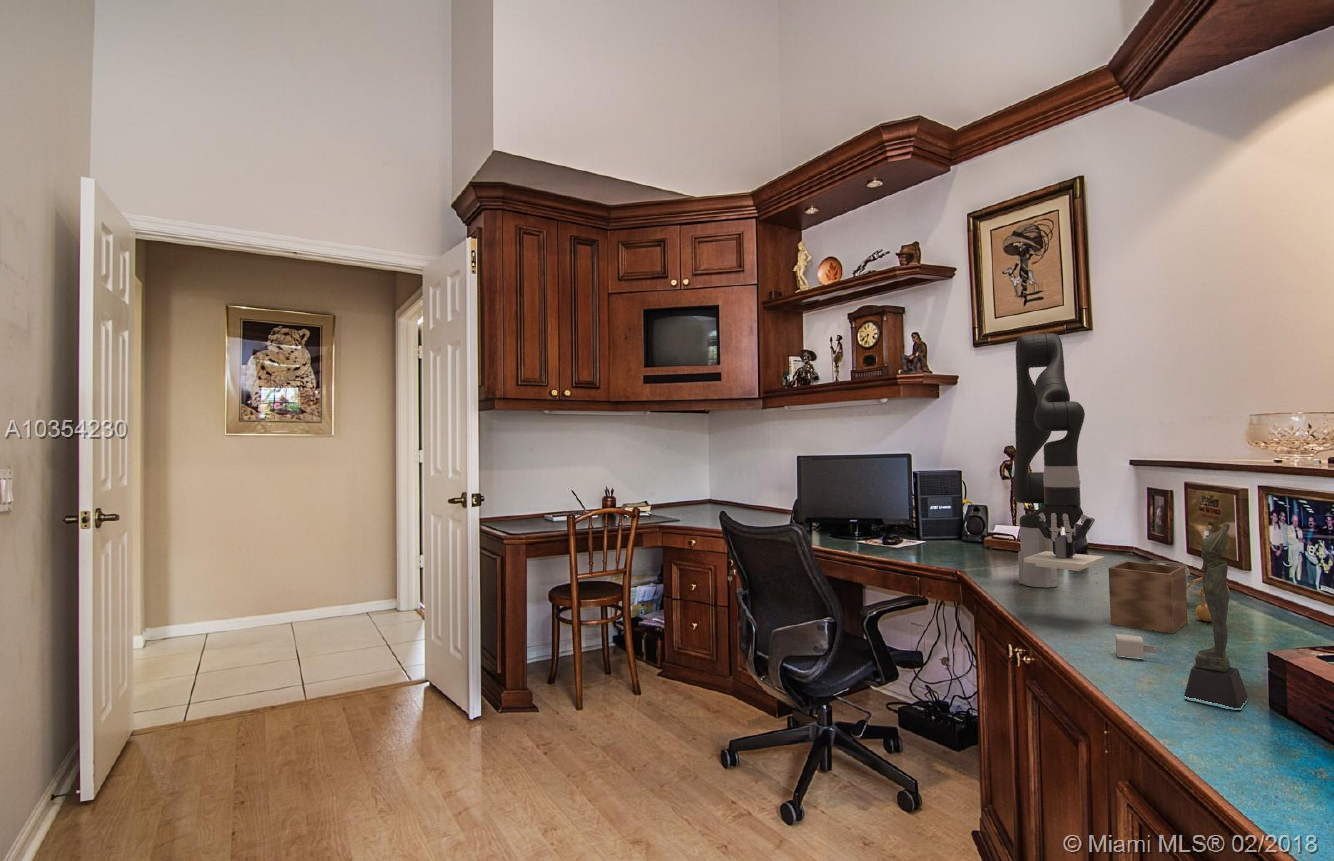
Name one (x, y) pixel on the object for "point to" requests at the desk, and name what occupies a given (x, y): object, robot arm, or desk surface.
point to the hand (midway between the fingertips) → (1064, 556)
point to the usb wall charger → (1132, 646)
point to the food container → (1173, 565)
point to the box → (1148, 596)
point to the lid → (1063, 558)
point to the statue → (1216, 633)
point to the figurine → (1202, 604)
